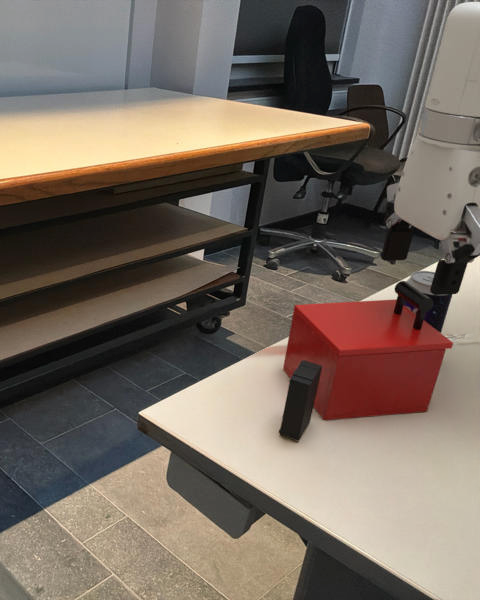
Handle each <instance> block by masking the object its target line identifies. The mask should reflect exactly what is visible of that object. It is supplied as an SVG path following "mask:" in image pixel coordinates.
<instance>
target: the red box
mask: <svg viewBox="0 0 480 600" xmlns="http://www.w3.org/2000/svg"><path fill="white" fill-rule="evenodd" d="M290 323H291V324H290V329H289V334H288V340H287V345H286V350H285V356H284V360H283V361H284V362H283V366H282V370H283V371H284V372H285V374H286V375H287V376H288V377H289V379H290V378H291V377H292V375H293V373H294V371H295V370H296V369H297V367H298V366H299V364H300V363H301V361H303V360H305V361H308V362H311V363H315V364H318V365H321V366H322V370H321V375H320V379H319V384H318V388H317V393H316V397H315V402H314V407H313V409H315V410H316V412H317V413H318V415H320V417H321V418H322V419H323V420H324V421H329V420H340V419H352V418H353V419H355V418H366V417H377V416H379V417H380V416H387V415H388V416H390V415H402V414H412V413H424V412H428V409H429V406H430V403H431V399H432V396H433V393H434V390H435V387H436V383H437V380H438V376H439V374H440V370H441V367H442V364H443V360H444V357H445V354H446V350H447V349H438V350H423V351H408V352H393V353H379V354H364V355H349V356H338V355H337V354H336V353H335V352H334V351H333V350H332V349H331V348H330V347H329V346H328V345H327V344H326V343H325V342H324V341H323V340H322V339H321V338H320V337H319V336H318V335H317V333H316V332H315V331H314V330H313V329H312V328H311V327H310V326H309V325H308V324H307V323H306V322H305V321H304V320H303V319H302V318H301V317H300V316H299V315H298V314H297V313H296V312H295V311H294V310H293V312H292V319H291V322H290Z"/></svg>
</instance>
